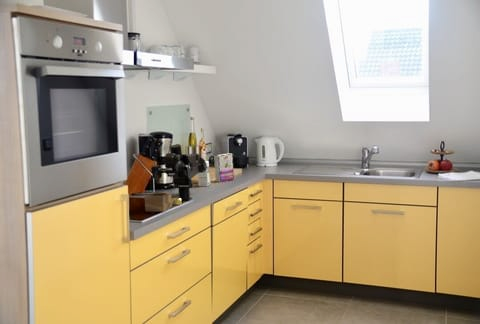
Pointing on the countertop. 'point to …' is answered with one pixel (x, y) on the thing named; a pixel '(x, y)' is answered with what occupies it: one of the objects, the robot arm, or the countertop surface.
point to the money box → (158, 202)
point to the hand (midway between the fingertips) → (163, 177)
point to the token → (176, 201)
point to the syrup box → (204, 177)
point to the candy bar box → (224, 167)
